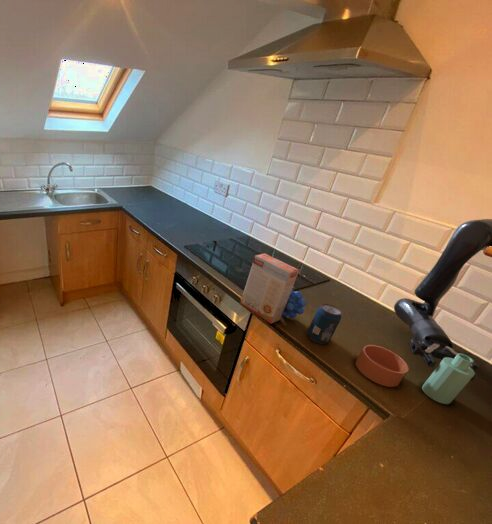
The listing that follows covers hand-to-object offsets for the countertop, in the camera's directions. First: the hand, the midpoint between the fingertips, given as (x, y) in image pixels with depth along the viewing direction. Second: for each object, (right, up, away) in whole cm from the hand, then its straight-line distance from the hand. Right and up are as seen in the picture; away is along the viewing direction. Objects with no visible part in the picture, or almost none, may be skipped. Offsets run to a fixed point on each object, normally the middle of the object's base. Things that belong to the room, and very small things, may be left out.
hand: (452, 371), depth 81 cm
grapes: (-32, +9, +29) cm, 44 cm away
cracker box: (-40, +11, +31) cm, 52 cm away
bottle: (-1, -8, +3) cm, 9 cm away
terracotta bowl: (-13, -3, +9) cm, 16 cm away
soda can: (-24, +4, +20) cm, 32 cm away
